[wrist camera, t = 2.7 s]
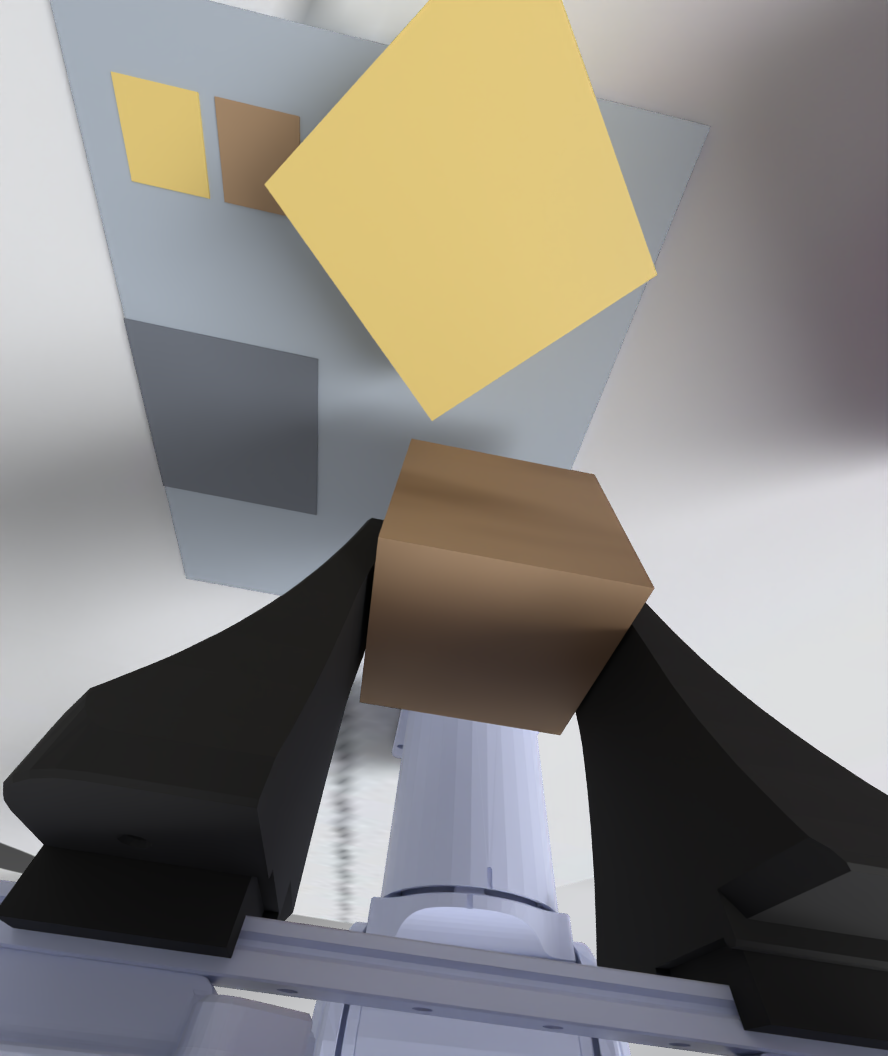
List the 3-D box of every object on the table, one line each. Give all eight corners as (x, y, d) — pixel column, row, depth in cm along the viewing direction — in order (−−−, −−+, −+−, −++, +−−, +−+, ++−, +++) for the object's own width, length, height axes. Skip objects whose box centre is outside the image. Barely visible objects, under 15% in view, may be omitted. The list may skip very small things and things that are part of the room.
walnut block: (537, 605, 14) (560, 735, 10) (391, 578, 14) (359, 702, 10) (594, 474, 11) (654, 588, 7) (411, 438, 11) (378, 537, 7)
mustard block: (597, 263, 11) (657, 274, 7) (445, 370, 13) (431, 421, 9) (505, 37, 9) (524, -106, 5) (337, 204, 11) (264, 184, 7)
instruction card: (502, 632, 20) (503, 636, 20) (189, 575, 19) (185, 579, 19) (706, 128, 10) (712, 125, 9) (48, -37, 9) (37, -44, 9)
